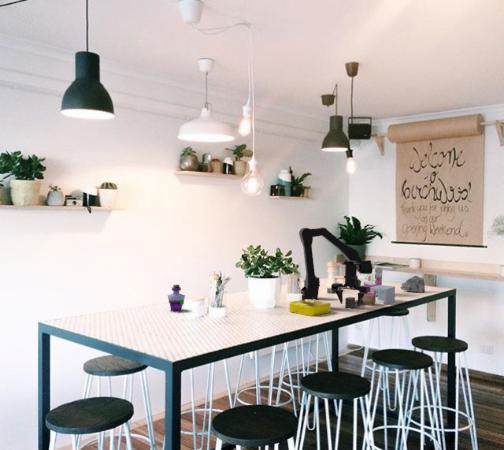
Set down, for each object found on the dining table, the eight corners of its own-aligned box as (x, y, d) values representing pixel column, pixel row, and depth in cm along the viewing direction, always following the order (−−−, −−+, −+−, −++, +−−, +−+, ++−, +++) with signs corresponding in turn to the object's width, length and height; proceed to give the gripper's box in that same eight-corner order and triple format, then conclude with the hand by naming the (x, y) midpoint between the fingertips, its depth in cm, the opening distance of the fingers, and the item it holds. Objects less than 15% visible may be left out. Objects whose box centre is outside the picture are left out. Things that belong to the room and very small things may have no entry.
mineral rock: (399, 291, 321) (399, 275, 321) (409, 289, 328) (409, 273, 328) (418, 294, 312) (418, 277, 311) (427, 292, 319) (428, 276, 318)
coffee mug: (320, 300, 282) (320, 281, 282) (304, 300, 283) (304, 281, 282) (318, 296, 294) (318, 279, 294) (302, 296, 294) (303, 278, 294)
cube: (372, 306, 268) (372, 296, 268) (362, 305, 271) (362, 295, 271) (375, 304, 272) (375, 295, 272) (366, 303, 275) (366, 294, 275)
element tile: (287, 311, 248) (287, 301, 248) (307, 307, 259) (307, 298, 259) (312, 316, 238) (312, 306, 238) (332, 312, 248) (332, 302, 248)
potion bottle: (181, 312, 243) (182, 286, 242) (164, 311, 244) (164, 285, 244) (187, 308, 251) (188, 283, 251) (170, 308, 253) (170, 283, 252)
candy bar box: (382, 296, 300) (382, 267, 300) (375, 296, 298) (375, 268, 298) (369, 293, 310) (370, 265, 310) (363, 293, 308) (363, 266, 308)
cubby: (385, 304, 272) (385, 289, 272) (368, 302, 277) (369, 287, 277) (394, 301, 284) (394, 286, 283) (378, 299, 289) (378, 285, 288)
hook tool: (357, 309, 257) (357, 299, 257) (345, 308, 260) (345, 298, 260) (373, 303, 275) (373, 294, 274) (361, 302, 278) (361, 293, 278)
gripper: (374, 273, 263) (374, 304, 263) (340, 271, 273) (339, 300, 273) (366, 275, 253) (365, 308, 254) (331, 272, 264) (330, 303, 264)
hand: (350, 305), depth 262 cm, fingers open, 9 cm apart
